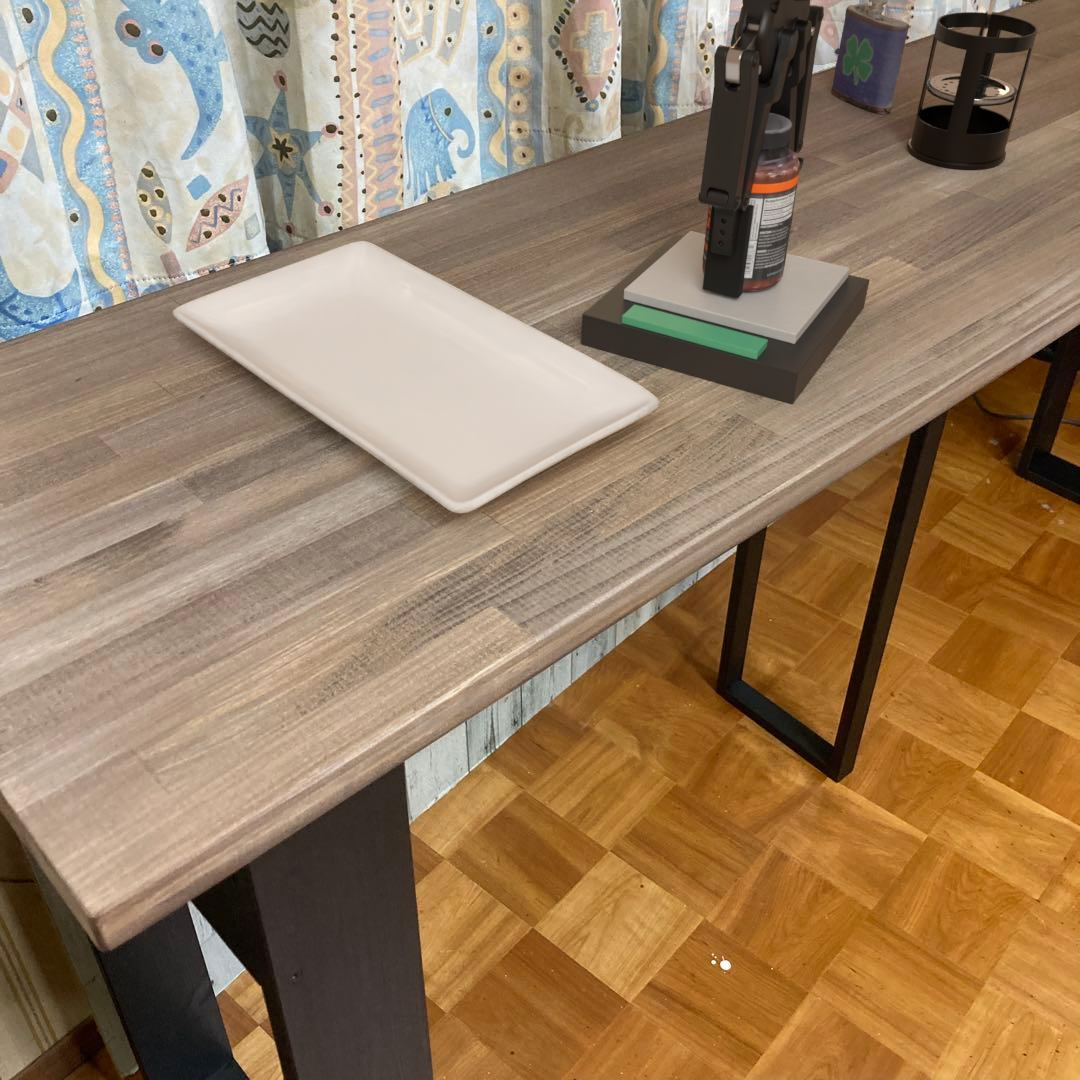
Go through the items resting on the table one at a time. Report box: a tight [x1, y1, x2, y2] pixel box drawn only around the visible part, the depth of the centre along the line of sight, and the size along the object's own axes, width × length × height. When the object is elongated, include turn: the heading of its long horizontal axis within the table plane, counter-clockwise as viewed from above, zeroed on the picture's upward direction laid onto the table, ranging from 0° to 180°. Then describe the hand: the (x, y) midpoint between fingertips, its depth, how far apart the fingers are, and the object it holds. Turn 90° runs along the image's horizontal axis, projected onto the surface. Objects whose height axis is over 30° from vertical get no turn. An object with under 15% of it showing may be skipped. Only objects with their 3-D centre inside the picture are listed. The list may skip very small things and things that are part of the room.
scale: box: [580, 230, 870, 405], centre depth 82 cm, size 16×16×3 cm
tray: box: [172, 240, 661, 514], centre depth 74 cm, size 17×31×4 cm, turn 43°
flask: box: [830, 0, 910, 115], centre depth 121 cm, size 9×3×11 cm, turn 25°
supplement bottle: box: [702, 113, 801, 291], centre depth 79 cm, size 6×6×11 cm
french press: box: [906, 0, 1038, 171], centre depth 105 cm, size 12×9×23 cm
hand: (739, 273), depth 82 cm, fingers closed on supplement bottle, 6 cm apart
